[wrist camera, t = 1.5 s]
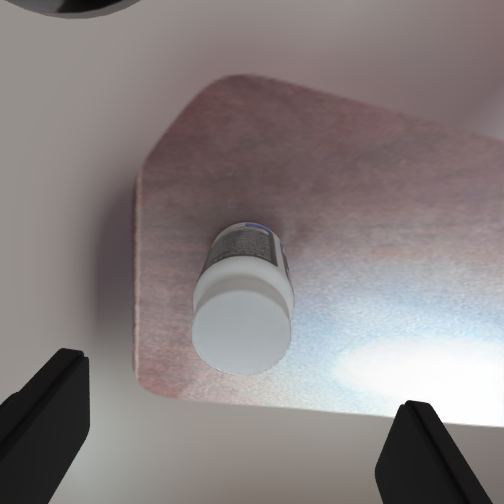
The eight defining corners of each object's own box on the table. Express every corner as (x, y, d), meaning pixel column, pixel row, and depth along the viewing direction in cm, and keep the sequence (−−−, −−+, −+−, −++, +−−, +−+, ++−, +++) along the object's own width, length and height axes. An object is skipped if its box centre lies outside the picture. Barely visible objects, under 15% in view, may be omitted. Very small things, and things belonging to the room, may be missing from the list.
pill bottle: (195, 257, 21) (154, 336, 13) (246, 205, 19) (237, 256, 12) (249, 304, 22) (242, 402, 14) (301, 257, 20) (326, 336, 13)
